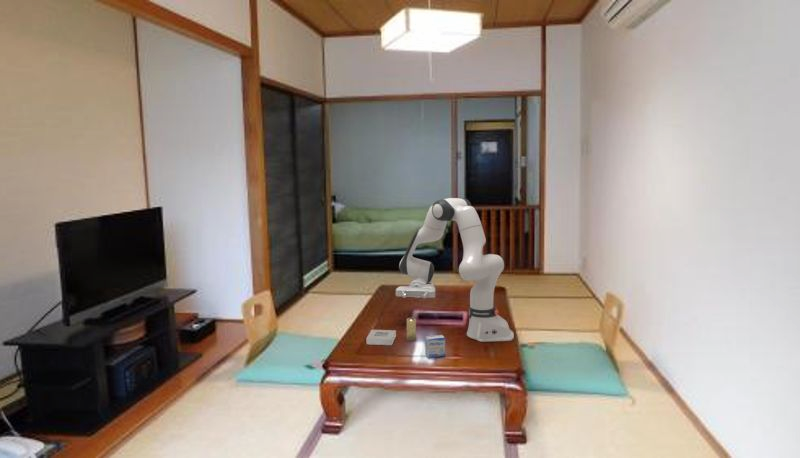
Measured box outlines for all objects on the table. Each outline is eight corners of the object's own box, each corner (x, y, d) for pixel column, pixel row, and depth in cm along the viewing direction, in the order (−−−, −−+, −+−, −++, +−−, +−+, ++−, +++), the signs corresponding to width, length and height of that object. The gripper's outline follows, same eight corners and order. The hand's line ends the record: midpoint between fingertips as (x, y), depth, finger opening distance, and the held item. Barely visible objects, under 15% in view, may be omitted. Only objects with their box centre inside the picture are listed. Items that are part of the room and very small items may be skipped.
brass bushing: (416, 337, 264) (416, 317, 263) (415, 341, 260) (415, 320, 258) (407, 337, 265) (407, 317, 263) (406, 340, 261) (405, 320, 259)
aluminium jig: (395, 336, 267) (395, 330, 266) (391, 345, 255) (391, 339, 254) (371, 335, 268) (371, 329, 268) (366, 344, 257) (366, 338, 256)
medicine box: (428, 358, 239) (427, 339, 237) (425, 354, 243) (424, 336, 242) (445, 356, 241) (445, 337, 239) (441, 352, 245) (441, 334, 244)
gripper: (397, 282, 286) (393, 289, 273) (436, 283, 283) (434, 291, 270) (397, 294, 287) (393, 301, 274) (436, 295, 284) (434, 303, 271)
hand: (413, 296), depth 272 cm, fingers open, 8 cm apart
